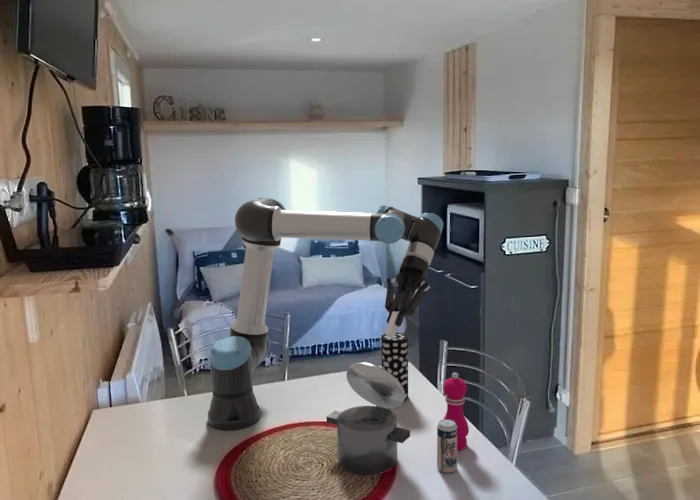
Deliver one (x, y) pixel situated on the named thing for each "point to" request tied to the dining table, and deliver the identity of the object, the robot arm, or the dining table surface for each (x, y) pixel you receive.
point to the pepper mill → (456, 407)
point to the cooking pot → (367, 439)
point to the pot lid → (375, 385)
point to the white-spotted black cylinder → (396, 358)
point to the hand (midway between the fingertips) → (389, 335)
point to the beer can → (447, 446)
